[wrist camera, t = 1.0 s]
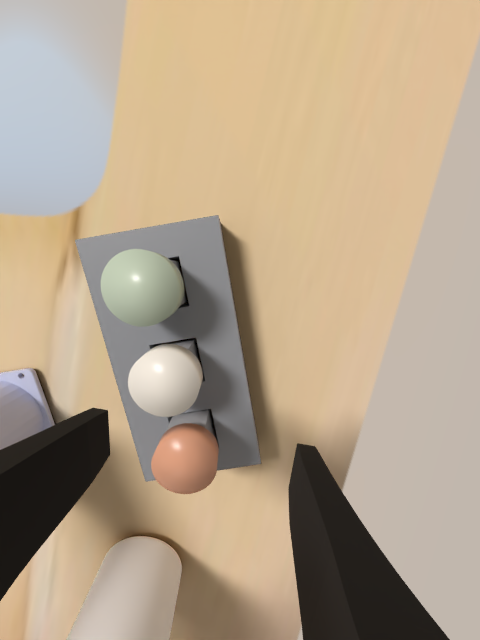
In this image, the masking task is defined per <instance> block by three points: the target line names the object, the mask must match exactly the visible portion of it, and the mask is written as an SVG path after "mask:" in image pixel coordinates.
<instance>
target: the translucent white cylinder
mask: <svg viewBox="0 0 480 640" xmlns="http://www.w3.org/2000/svg"><path fill="white" fill-rule="evenodd" d="M181 573H182V564H181V560H180V558H179V556H178V554H177V553H176V551H175V550H174V549H173V548H172V547H171V546H170V545H168V544H167V543H165V542H163V541H161V540H159V539H156V538H153V537H147V536H135V537H130V538H126V539H124V540H121V541H119V542H118V543H116V544H115V545H114V546H112V547H111V548H110V549H109V551H108V552H107V554H106V555H105V557H104V560H103V562H102V564H101V566H100V568H99V570H98V573H97V575H96V577H95V579H94V581H93V583H92V585H91V588H90V590H89V592H88V594H87V596H86V598H85V601H84V603H83V605H82V607H81V609H80V611H79V613H78V616H77V618H76V620H75V622H74V624H73V626H72V629H71V631H70V633H69V635H68V637H67V639H66V640H169V639H170V634H171V628H172V623H173V617H174V612H175V606H176V601H177V595H178V590H179V584H180V579H181Z"/></svg>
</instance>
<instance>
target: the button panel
mask: <svg viewBox="0 0 480 640" xmlns="http://www.w3.org/2000/svg"><path fill="white" fill-rule="evenodd" d="M75 242H76V245H77V249H78V252H79V256H80V259H81V262H82V266H83V269H84V273H85V276H86V280H87V283H88V286H89V290H90V293H91V297H92V300H93V303H94V307H95V310H96V314H97V317H98V320H99V324H100V327H101V331H102V334H103V338H104V341H105V344H106V348H107V351H108V355H109V358H110V361H111V365H112V368H113V372H114V375H115V379H116V382H117V385H118V389H119V392H120V396H121V399H122V402H123V406H124V409H125V413H126V416H127V420H128V423H129V426H130V430H131V433H132V437H133V440H134V443H135V447H136V450H137V454H138V457H139V460H140V464H141V467H142V471H143V474H144V478H145V481H153V480H156V479H155V477H154V475H153V473H152V469H151V461H152V457H153V455H154V452H155V450H156V448H157V446H158V444H159V441H160V439H161V437H162V436H163V434H164V433H165V432H166V430H167V427H168V425H169V423H170V421H171V419H172V416H171V417H160V416H155V415H152V414H150V413H148V412H146V411H144V410H143V409H141V408H140V407H139V406H138V405H137V404H136V403H135V401H134V400H133V399H132V397H131V395H130V392H129V388H128V377H129V373H130V370H131V368H132V366H133V365H134V364H135V362H136V361H137V360H138V359H140V358H141V357H142V356H143V355H144V354H145V353H146V352H148V351H149V350H150V349H152V348H154V347H156V346H157V345H161V344H162V343H166V342H172V341H178V340H184V339H190V338H196V340H197V344H198V349H199V354H200V358H201V363H202V368H203V370H202V372H203V379H202V383H201V387H200V390H199V393H198V396H197V398H196V400H195V402H194V404H193V405H192V406H191V407H190V408H189V409H188V410H186V411H185V412H183V413H187V412H194V411H200V410H206V409H211V411H212V415H213V420H214V425H215V429H214V432H215V436H216V440H217V443H218V448H219V453H218V463H217V470H224V469H230V468H237V467H243V466H250V465H256V464H261V459H260V452H259V444H258V438H257V432H256V426H255V420H254V415H253V409H252V403H251V397H250V391H249V385H248V380H247V374H246V368H245V362H244V356H243V351H242V345H241V339H240V333H239V327H238V321H237V316H236V310H235V304H234V298H233V292H232V286H231V281H230V275H229V269H228V263H227V257H226V252H225V246H224V240H223V234H222V228H221V223H220V219H219V216H218V215H216V216H210V217H204V218H198V219H193V220H187V221H181V222H175V223H170V224H164V225H158V226H153V227H147V228H141V229H135V230H130V231H124V232H118V233H112V234H107V235H101V236H95V237H89V238H84V239H78V240H75ZM129 249H143V250H148V251H152V252H155V253H159V254H161V255H163V256H165V257H167V258H168V259H169V260H173V261H174V260H179V259H180V264H181V268H182V273H183V278H184V283H185V287H186V292H187V297H188V302H189V303H187V304H182V305H180V306H179V308H178V309H177V310H176V312H175V313H173V314H172V315H171V316H170V317H168V318H166V319H165V320H163V321H162V322H160V323H158V324H155V325H152V326H146V327H139V326H133V325H130V324H127V323H125V322H123V321H121V320H120V319H118V318H117V317H116V316H115V315H114V314H113V313H112V312H111V311H110V310H109V309H108V307H107V306H106V304H105V302H104V299H103V297H102V293H101V276H102V273H103V270H104V268H105V266H106V265H107V263H108V262H109V261H110V260H111V259H112V258H113V257H114V256H115V255H117V254H118V253H120V252H123V251H125V250H129Z"/></svg>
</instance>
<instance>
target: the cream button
mask: <svg viewBox="0 0 480 640" xmlns="http://www.w3.org/2000/svg"><path fill="white" fill-rule="evenodd" d="M202 379H203V372H202V367H201V364H200V361H199V356H198V352H197V347H196V342H195V339H192V340H186V341H180V342H174V343H168V344H161V345H157V346H156V347H154V348H152V349H150V350H149V351H148V352H146V353H145V354H144V355H143V356H142V357H141V358H140V359H138V360H137V361H136V362H135V364H134V365H133V366H132V368H131V370H130V373H129V377H128V388H129V392H130V395H131V397H132V399H133V400H134V401H135V403H136V404H137V405H138V406H139V407H140V408H141V409H143V410H144V411H146V412H148V413H150V414H152V415H155V416H160V417H171V416H176V415H179V414H181V413H183V412H185V411H186V410H188V409H189V408H190V407H191V406H192V405H193V404H194V402H195V400H196V398H197V396H198V393H199V390H200V387H201V383H202Z"/></svg>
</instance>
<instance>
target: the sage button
mask: <svg viewBox="0 0 480 640" xmlns="http://www.w3.org/2000/svg"><path fill="white" fill-rule="evenodd" d="M101 293H102V297H103V299H104V302H105V304H106V306H107V307H108V309H109V310H110V311H111V312H112V313H113V314H114V315H115V316H116V317H117V318H118V319H120V320H121V321H123V322H125V323H127V324H130V325H133V326H139V327H146V326H152V325H155V324H158V323H160V322H162V321H163V320H165V319H166V318H168V317H170V316H171V315H172V314H173V313H175V312H176V310H177V309H178V308H179V306H180V305H182V304H184V303H185V302H187V300H186V295H185V290H184V282H183V278H182V275H181V272H180V267H179V262H178V261H173V260H169V259H168V258H167V257H165V256H163V255H161V254H159V253H155V252H152V251H148V250H143V249H129V250H125V251H123V252H120V253H118V254H117V255H115V256H114V257H113V258H112V259H111V260H110V261H109V262H108V263H107V265H106V266H105V268H104V270H103V273H102V276H101Z"/></svg>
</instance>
